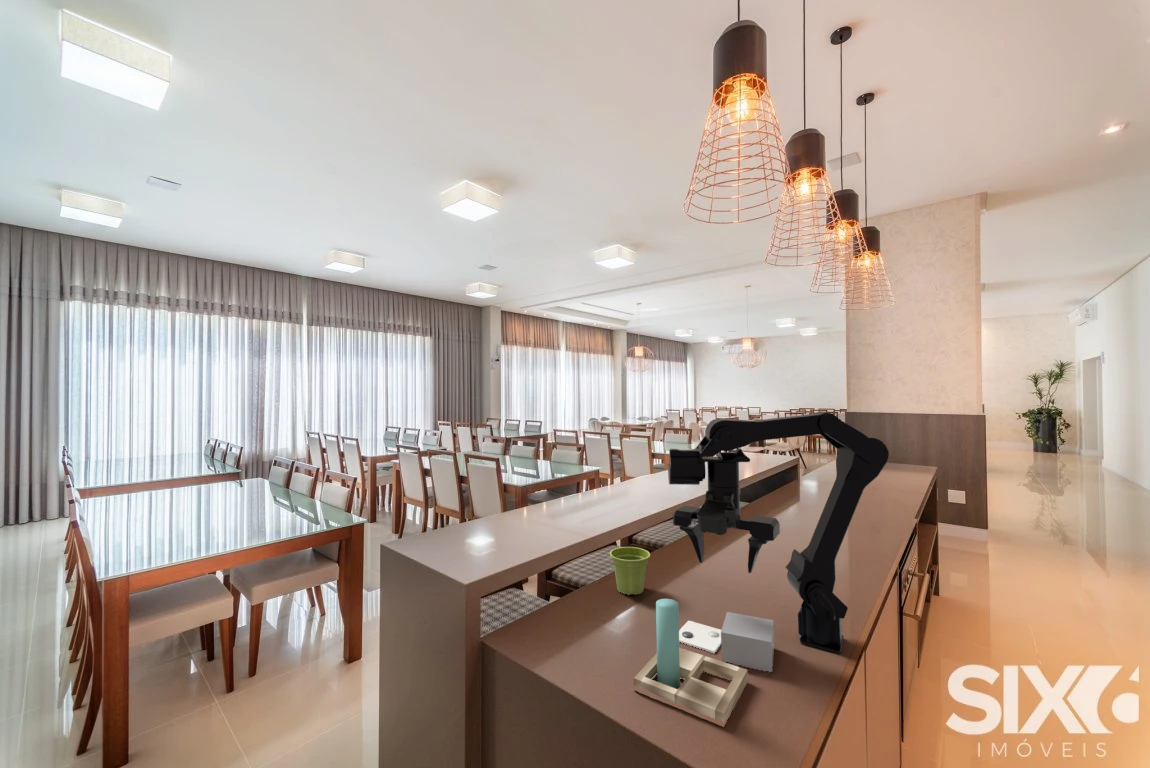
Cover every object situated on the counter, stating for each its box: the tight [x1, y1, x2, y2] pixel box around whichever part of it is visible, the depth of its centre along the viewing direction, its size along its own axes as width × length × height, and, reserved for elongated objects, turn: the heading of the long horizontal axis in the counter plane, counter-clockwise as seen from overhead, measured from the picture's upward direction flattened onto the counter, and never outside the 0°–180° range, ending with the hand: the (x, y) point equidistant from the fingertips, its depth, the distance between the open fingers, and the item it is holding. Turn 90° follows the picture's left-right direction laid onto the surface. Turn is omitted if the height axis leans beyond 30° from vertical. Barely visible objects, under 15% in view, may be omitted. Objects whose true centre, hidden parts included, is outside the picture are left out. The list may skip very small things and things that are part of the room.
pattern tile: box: [679, 620, 722, 654], centre depth 87 cm, size 8×8×1 cm
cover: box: [720, 611, 775, 673], centre depth 81 cm, size 8×8×5 cm
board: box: [633, 647, 749, 723], centre depth 72 cm, size 14×12×2 cm
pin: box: [655, 598, 681, 689], centre depth 72 cm, size 4×4×13 cm
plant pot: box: [609, 546, 651, 596], centre depth 108 cm, size 9×9×9 cm
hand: (725, 567), depth 87 cm, fingers open, 9 cm apart
